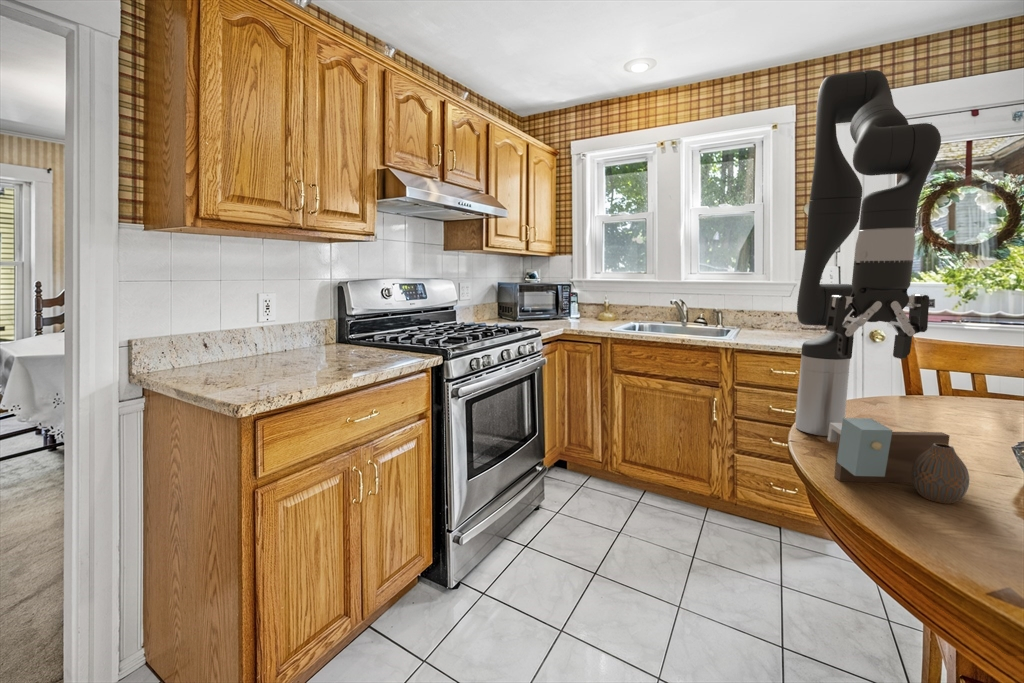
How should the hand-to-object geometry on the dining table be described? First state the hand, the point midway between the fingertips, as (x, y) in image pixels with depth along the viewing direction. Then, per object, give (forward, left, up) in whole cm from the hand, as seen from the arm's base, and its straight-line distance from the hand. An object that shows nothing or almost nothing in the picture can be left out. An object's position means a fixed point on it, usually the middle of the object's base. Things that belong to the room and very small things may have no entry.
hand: (872, 358), depth 79 cm
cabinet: (0, -1, -18) cm, 18 cm away
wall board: (-1, +6, -22) cm, 23 cm away
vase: (+5, +9, -22) cm, 24 cm away
